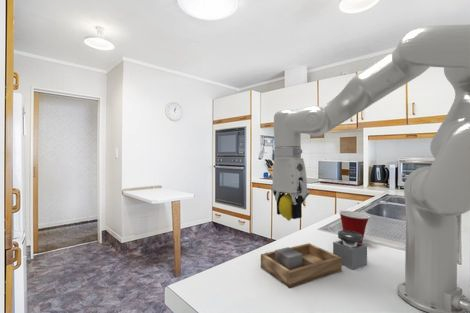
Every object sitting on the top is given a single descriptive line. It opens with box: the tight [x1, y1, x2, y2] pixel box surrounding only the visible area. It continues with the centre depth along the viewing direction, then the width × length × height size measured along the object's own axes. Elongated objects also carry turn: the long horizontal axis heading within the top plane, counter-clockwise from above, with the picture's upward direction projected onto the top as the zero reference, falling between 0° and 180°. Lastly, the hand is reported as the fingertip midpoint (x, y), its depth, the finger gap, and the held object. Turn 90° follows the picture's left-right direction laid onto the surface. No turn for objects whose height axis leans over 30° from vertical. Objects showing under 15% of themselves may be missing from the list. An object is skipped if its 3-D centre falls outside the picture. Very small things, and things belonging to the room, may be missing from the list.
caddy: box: [260, 242, 343, 289], centre depth 73 cm, size 13×20×6 cm, turn 118°
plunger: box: [337, 229, 362, 248], centre depth 77 cm, size 7×7×8 cm
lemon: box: [279, 193, 293, 222], centre depth 70 cm, size 6×6×8 cm
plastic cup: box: [338, 210, 371, 244], centre depth 94 cm, size 11×11×12 cm
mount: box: [332, 239, 368, 270], centre depth 77 cm, size 7×7×6 cm
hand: (288, 215), depth 70 cm, fingers closed on lemon, 5 cm apart
